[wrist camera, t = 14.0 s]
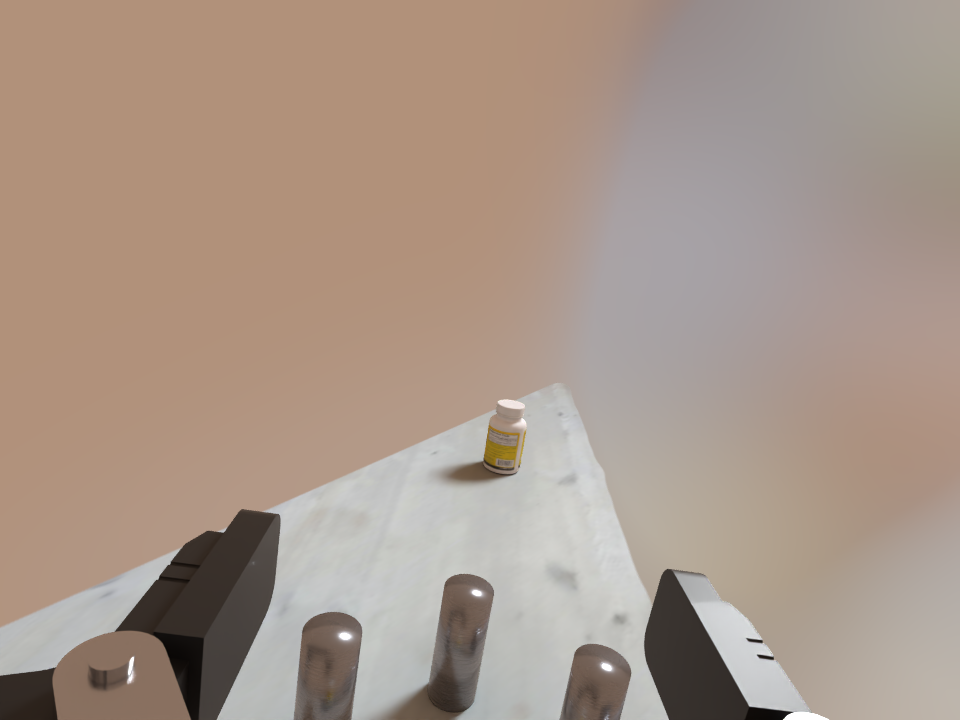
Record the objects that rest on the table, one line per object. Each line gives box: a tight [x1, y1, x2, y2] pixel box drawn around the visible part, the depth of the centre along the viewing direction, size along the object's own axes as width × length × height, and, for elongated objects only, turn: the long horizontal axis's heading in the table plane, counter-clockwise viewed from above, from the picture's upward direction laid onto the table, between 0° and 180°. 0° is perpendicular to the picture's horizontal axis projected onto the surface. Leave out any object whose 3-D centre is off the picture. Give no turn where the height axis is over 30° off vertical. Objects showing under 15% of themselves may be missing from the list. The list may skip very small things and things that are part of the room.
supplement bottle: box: [483, 400, 527, 474], centre depth 86 cm, size 5×5×10 cm
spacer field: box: [294, 574, 631, 720], centre depth 38 cm, size 16×23×9 cm
